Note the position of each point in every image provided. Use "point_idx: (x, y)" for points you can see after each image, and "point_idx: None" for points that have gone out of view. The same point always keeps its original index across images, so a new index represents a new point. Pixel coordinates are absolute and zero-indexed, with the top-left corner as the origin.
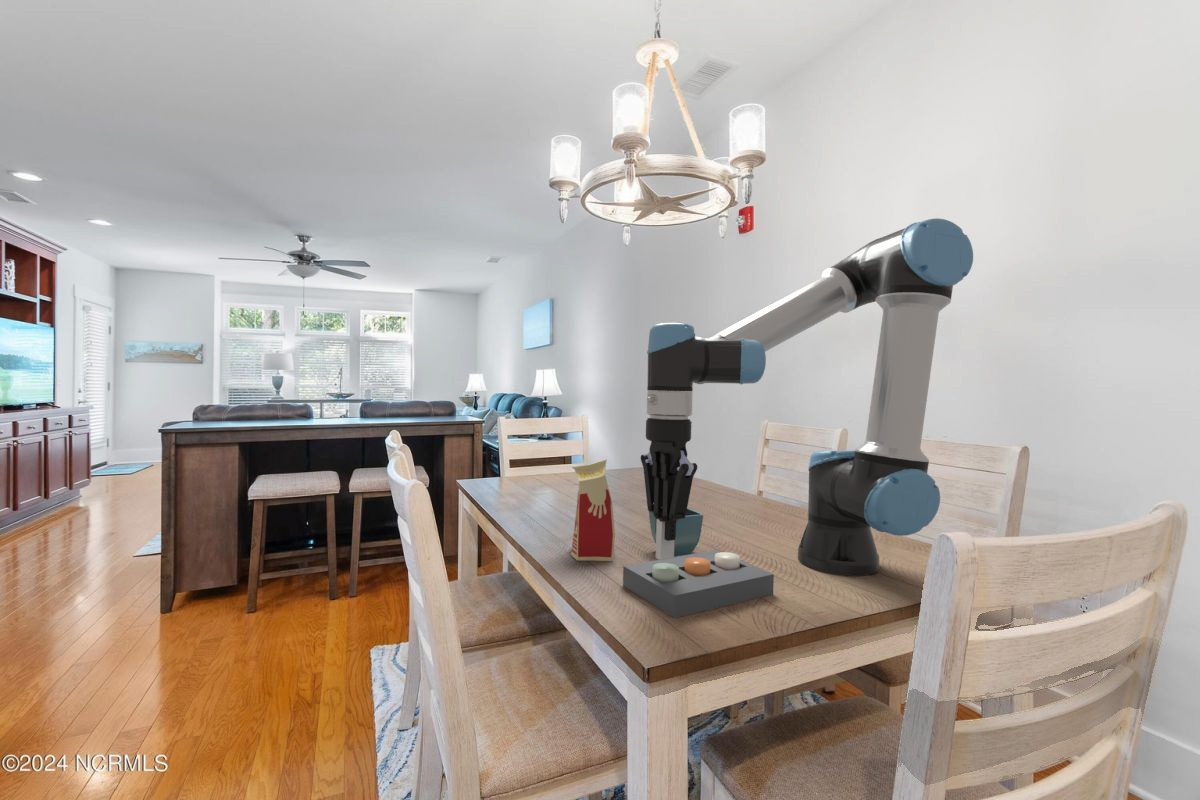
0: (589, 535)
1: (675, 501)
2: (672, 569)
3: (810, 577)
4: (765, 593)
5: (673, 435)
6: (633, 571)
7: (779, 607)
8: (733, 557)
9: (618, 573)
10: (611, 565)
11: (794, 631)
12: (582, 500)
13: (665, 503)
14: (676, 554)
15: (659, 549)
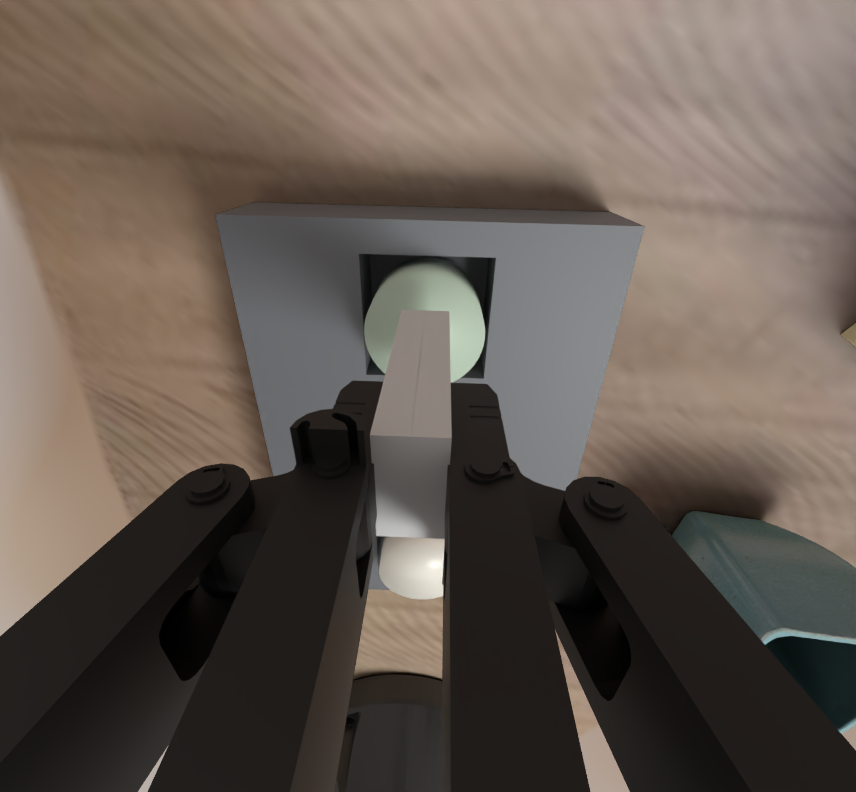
0: None
1: (8, 658)
2: (386, 344)
3: (366, 644)
4: None
5: None
6: (549, 224)
7: None
8: (398, 578)
9: (725, 275)
10: (815, 301)
11: (103, 440)
12: None
13: (278, 593)
14: (678, 530)
15: (412, 331)
